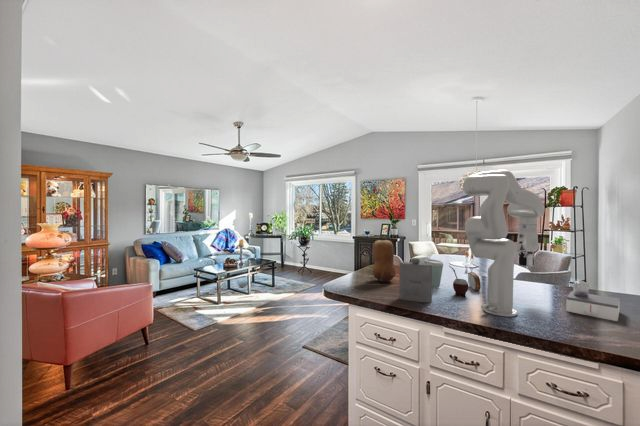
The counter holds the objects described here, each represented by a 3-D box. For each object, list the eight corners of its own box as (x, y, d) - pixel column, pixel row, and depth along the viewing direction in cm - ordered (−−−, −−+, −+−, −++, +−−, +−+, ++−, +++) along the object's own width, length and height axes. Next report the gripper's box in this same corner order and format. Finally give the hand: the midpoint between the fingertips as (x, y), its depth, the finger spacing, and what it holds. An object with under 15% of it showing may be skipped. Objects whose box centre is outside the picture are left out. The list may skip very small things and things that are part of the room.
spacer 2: (584, 298, 130) (585, 284, 130) (571, 295, 135) (571, 281, 135) (590, 296, 132) (590, 283, 132) (576, 293, 137) (577, 280, 137)
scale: (617, 322, 119) (618, 306, 119) (565, 311, 130) (566, 297, 130) (619, 312, 131) (619, 298, 130) (571, 303, 142) (571, 290, 142)
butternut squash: (382, 277, 190) (382, 238, 189) (400, 282, 179) (400, 240, 179) (367, 281, 181) (368, 239, 180) (385, 285, 170) (386, 241, 170)
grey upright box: (398, 299, 145) (399, 258, 144) (399, 296, 150) (400, 256, 150) (431, 303, 139) (432, 260, 139) (431, 300, 145) (432, 258, 145)
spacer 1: (528, 267, 144) (529, 254, 144) (517, 265, 148) (518, 253, 148) (534, 266, 146) (535, 254, 146) (523, 264, 151) (524, 252, 151)
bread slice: (481, 292, 159) (481, 276, 159) (474, 292, 160) (475, 276, 159) (472, 285, 174) (472, 270, 174) (466, 285, 174) (467, 270, 174)
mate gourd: (471, 296, 151) (471, 267, 151) (459, 298, 148) (459, 268, 148) (459, 292, 158) (459, 264, 157) (447, 294, 155) (448, 265, 155)
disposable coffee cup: (444, 286, 171) (445, 259, 171) (441, 290, 162) (441, 262, 162) (425, 283, 177) (426, 258, 176) (421, 287, 168) (421, 260, 167)
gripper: (525, 228, 140) (524, 267, 140) (545, 228, 148) (544, 265, 148) (509, 227, 147) (507, 264, 147) (529, 227, 154) (528, 262, 154)
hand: (526, 264), depth 147 cm, fingers closed on spacer 1, 5 cm apart
